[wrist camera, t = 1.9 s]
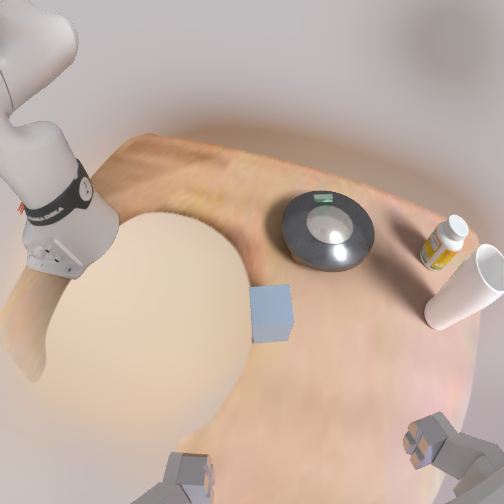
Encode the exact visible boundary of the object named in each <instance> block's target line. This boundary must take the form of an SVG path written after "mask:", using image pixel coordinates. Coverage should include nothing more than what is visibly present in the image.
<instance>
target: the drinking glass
mask: <svg viewBox="0 0 504 504" xmlns="http://www.w3.org/2000/svg"><path fill="white" fill-rule="evenodd" d="M503 294H504V257H503V255H502V254H501V253H500V252H499V251H498V250H497V249H496V248H495V247H493V246H491V245H489V244H482V245H480V246H478V247H477V248H476V249H475V250H474V251H473V252H472V253H471V254H470V255H469V256H468V257H467V258H466V259H465V260H464V261H463V263H462V264H461V265H460V266H459V267H458V269H457V270H456V271H455V272H454V273H453V275H452V276H451V277H450V278H449V280H448V281H447V282H446V283H445V284H444V286H443V287H442V288H441V289H440V290H439V291H438V292H437V293H436V295H435V296H434V297H433V298H431V299H430V300H429V301H428V302H427V304H426V306H425V310H424V314H425V319H426V321H427V323H428V325H429V326H430V327H431V328H433V329H435V330H443V329H446V328H447V327H449V326H450V325H452V324H454V323H456V322H458V321H460V320H462V319H464V318H466V317H468V316H470V315H472V314H474V313H476V312H478V311H480V310H482V309H483V308H485V307H487V306H488V305H490V304H491V303H493V302H494V301H495V300H497V299H498V298H499V297H500V296H501V295H503Z"/></svg>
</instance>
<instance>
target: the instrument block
mask: <svg viewBox="0 0 504 504" xmlns="http://www.w3.org/2000/svg"><path fill="white" fill-rule="evenodd" d="M249 289H250V304H251V320H252V332H253V341H254V343H267V342H279V341H288V338H289V335H290V332H291V329H292V326H293V323H294V317H293V309H292V302H291V294H290V286H289V284H286V285H273V286H259V287H249Z"/></svg>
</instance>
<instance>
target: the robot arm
mask: <svg viewBox="0 0 504 504" xmlns="http://www.w3.org/2000/svg"><path fill="white" fill-rule="evenodd" d="M77 50H78V34H77V31H76V29H75V26H74V25H73V23H72V22H71V21H70V20H69V19H67V18H66V17H64V16H62V15H59V14H53V13H49V12H46V11H44V10H42V9H40V8H38V7H36V6H35V5H34V4H33V3H32V2H31V1H30V0H0V176H1V177H2V178H3V179H4V181H5V182H6V183H7V184H8V185H9V186H10V187H11V189H12V190H13V191H14V192H15V193H16V195H17V196H18V197H19V198H20V199H21V201H22V202H21V205H20V207H19V209H18V211H19V210H20V208H21V206H22V208H21V211H20V214H22V212H23V210H24V209H25V212H26V215H27V221H26V224H25V228H24V231H23V244H24V246H25V248H26V249H27V250H28V254H27V265H28V267H29V268H30V269H31V270H35V271H39V272H43V273H47V274H51V275H56V276H60V277H65V278H69V279H77V278H79V277H80V276H81V274H82V273H83V272H84V271H85V270H86V268H87V267H88V266H89V265H90V264H92V263H93V262H95V261H96V260H97V259H99V258H100V257H101V256H102V255H103V254H104V253H105V252H106V251H107V250H108V249H109V248H110V246H111V245H112V243H113V241H114V239H115V237H116V235H117V233H118V228H119V217H118V214H117V212H116V211H115V210H114V209H113V208H112V207H111V206H110V205H108V204H107V203H106V202H105V200H104V199H103V198H102V196H101V195H99V194H98V192H97V191H96V190H95V189H94V187H93V186H92V184H91V181H90V179H89V177H88V175H87V173H86V171H85V169H84V167H83V165H82V164H81V162H80V161H79V160H78V159H76V158H75V156H74V155H73V152H72V151H71V149H70V147H69V145H68V143H67V141H66V139H65V137H64V135H63V133H62V131H61V129H60V128H59V127H58V126H57V125H56V124H54V123H52V122H50V121H39V122H34V123H30V124H26V125H24V126H19V127H13V126H12V124H11V123H10V121H9V117H10V115H11V114H12V112H13V111H15V110H16V109H17V108H18V107H20V106H21V105H22V104H23V103H25V102H26V101H27V100H29V99H30V98H31V97H32V96H34V95H35V94H37V93H38V92H39V91H41V90H42V89H43V88H45V87H46V86H48V85H49V84H50V83H51V82H52V81H53V80H54V79H56V77H58V76H59V75H60V74H61V73H62V72H63V71H64V70H65V69H67V68H68V67H69V66H70V65H71V64H72V63H73V61H74V59H75V56H76V54H77ZM70 271H71V272H70ZM408 430H409V431H408V432H407V433H406V434H405V436H404V439H403V446H404V449H405V451H406V453H407V454H410V455H411V458H410V461H411V463H412V464H413V466H414V468H415V470H417V469H419V468H422V467H424V466H427V465H429V464H432V465H433V466H435V467H437V468H439V469H440V470H442V471H444V472H446V473H447V474H449V475H451V476H453V477H455V478H456V479H458V480H460V481H459V482H458V484H456V486H455V487H454V489H453V491H454V493H455V495H456V498H454V499H453V500H451V501H449V502H447V503H446V504H504V452H503V451H502V450H501V448H500V447H499V446H498V445H496V444H493V443H490V442H487V441H484V440H481V439H478V438H475V437H472V436H470V435H467V434H464V433H461V432H460V433H457V431H456V430H455V429H454V427H453V426H452V425H451V424H450V422H449V421H448V420H447V418H446V417H445V416H444V415H443V413H441V412H437V413H435V414H432V415H430V416H427V417H424V418H422V419H419V420H416V421H414V422H411V423H410V424H409V426H408ZM214 484H215V469H214V465H213V464H211V457H210V454H191V453H179V452H171V453H170V455H169V458H168V462H167V466H166V470H165V474H164V478H163V482H159V483H157V484H156V485H155V486H154V487H152V488H151V489H150V490H148V491H147V492H146V493H145V494H143V495H142V496H141V497H139V498H138V499H136V500H135V501H134V502H132V503H131V504H213V499H214V491H213V489H212V486H213V485H214Z"/></svg>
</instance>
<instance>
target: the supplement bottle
mask: <svg viewBox="0 0 504 504" xmlns="http://www.w3.org/2000/svg"><path fill="white" fill-rule="evenodd" d="M467 234H468V226H467V224H466V222H465V221H464V220H463V219H462V218H461V217H459V216H457V215H451V216H450V217H449V218H448V219H447V221H445V222H441V223H440V224H439V225H438V226H437V227H436V229H435V230H434V232H433V233H432V234H431V236H430V237H429V238H428V240H427V241H426V242H425V244H424V245H423V246H422V248H421V250H420V258H421V260H422V262H423V264H424V265H425V266H426V267H427V268H428V269H430V270H433V271H439V270H441V269H442V268H443V267H444V266H445V265H446V264H447V263H448V262H449V261H450V260H451V259H452V258H453V257H454V256H455V254H456V253H457V252H458V251H459V250H460V249H461V248H462V246H463V240H464V239H465V237H466V236H467Z"/></svg>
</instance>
